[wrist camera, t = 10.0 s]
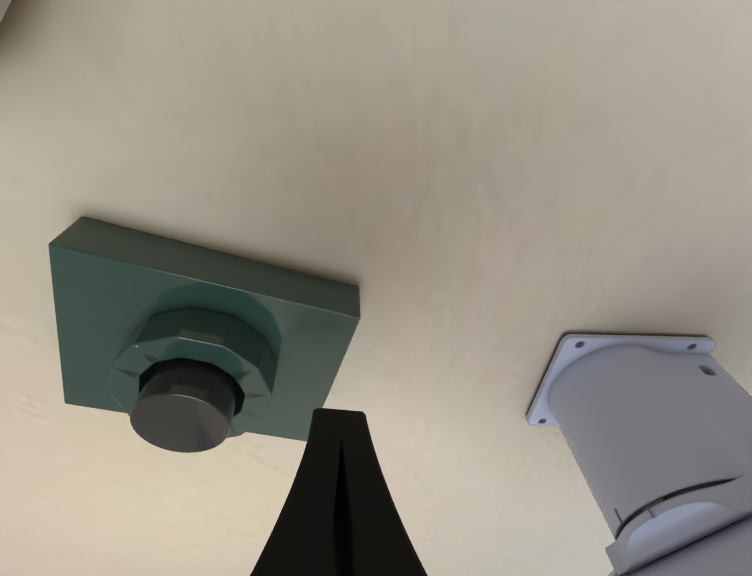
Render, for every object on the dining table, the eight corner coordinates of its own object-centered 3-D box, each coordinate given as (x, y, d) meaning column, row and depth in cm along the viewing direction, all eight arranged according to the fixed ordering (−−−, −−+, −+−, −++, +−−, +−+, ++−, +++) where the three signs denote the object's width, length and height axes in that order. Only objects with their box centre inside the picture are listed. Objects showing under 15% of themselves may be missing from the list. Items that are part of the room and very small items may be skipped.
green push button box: (359, 287, 21) (362, 347, 18) (311, 408, 27) (305, 473, 23) (81, 216, 18) (14, 271, 15) (88, 368, 24) (41, 437, 20)
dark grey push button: (245, 367, 19) (235, 404, 17) (232, 421, 21) (222, 458, 19) (150, 349, 18) (130, 385, 16) (146, 407, 20) (128, 445, 18)
